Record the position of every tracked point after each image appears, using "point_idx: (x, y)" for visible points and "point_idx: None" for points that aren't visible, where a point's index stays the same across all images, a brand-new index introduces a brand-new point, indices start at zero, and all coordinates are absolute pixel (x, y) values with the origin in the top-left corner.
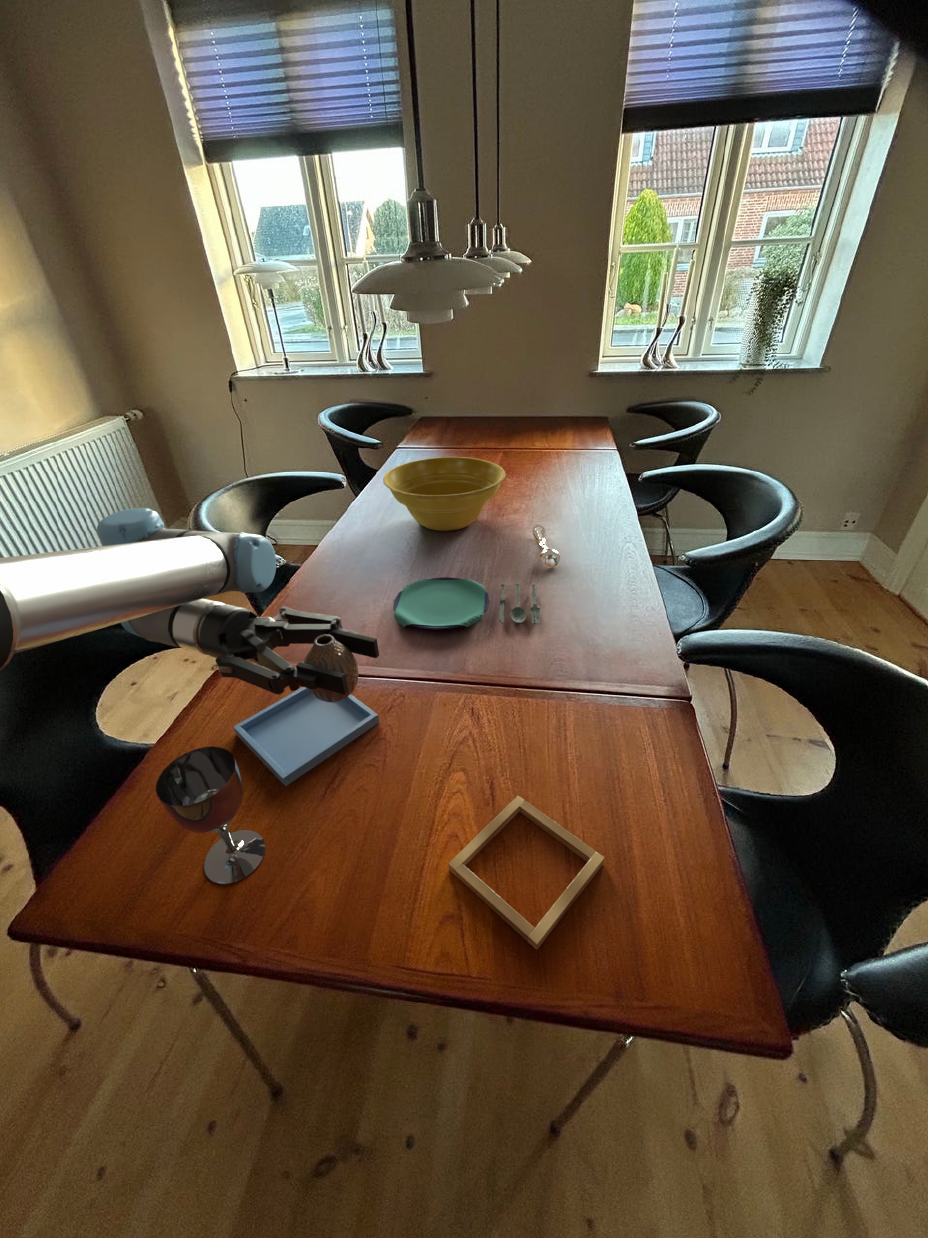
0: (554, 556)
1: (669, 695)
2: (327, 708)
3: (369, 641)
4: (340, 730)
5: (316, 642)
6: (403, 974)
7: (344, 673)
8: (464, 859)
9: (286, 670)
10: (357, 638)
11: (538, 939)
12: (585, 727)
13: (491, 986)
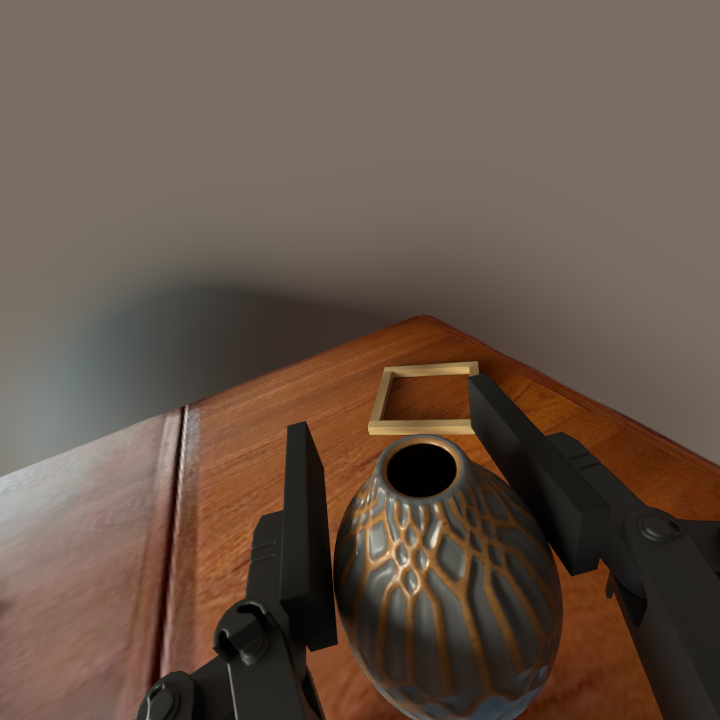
0: None
1: (180, 412)
2: None
3: (306, 433)
4: None
5: (457, 476)
6: (588, 405)
7: (436, 465)
8: (467, 419)
9: (675, 522)
10: (306, 468)
11: (473, 362)
12: (241, 440)
13: (524, 371)
